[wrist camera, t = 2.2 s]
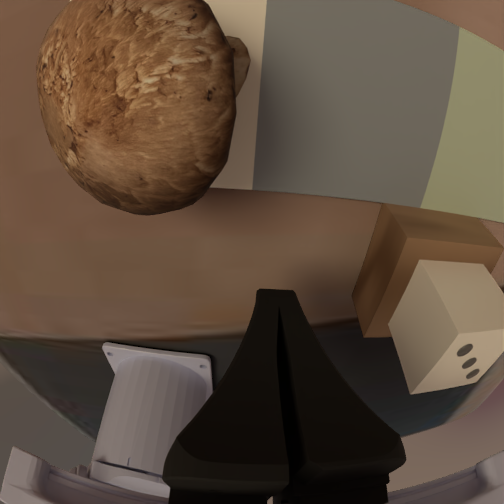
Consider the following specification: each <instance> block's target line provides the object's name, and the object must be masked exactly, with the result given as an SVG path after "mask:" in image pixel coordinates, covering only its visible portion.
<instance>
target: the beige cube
mask: <svg viewBox="0 0 504 504" xmlns="http://www.w3.org/2000/svg"><path fill="white" fill-rule="evenodd" d="M388 326H389V329H390V332H391V334H392V337H393V340H394V343H395V347H396V350H397V353H398V356H399V359H400V362H401V365H402V369H403V372H404V375H405V379H406V382H407V386H408V389H409V393H410V394H417V393H423V392H430V391H436V390H441V389H447V388H452V387H457V386H462V385H466V384H471V383H475V382H476V381H477V380H478V379H479V378H480V377H481V376H482V375H483V374H484V373H485V372H486V371H487V370H488V369H489V367H490V366H491V365H492V364H493V363H494V362H495V361H496V360H497V358H498V357H499V356H500V355H501V354H502V353H503V351H504V294H503V292H502V290H501V289H500V287H499V286H498V285H497V283H496V282H495V280H494V279H493V277H492V276H491V274H490V273H489V272H488V270H487V269H486V267H485V266H484V265H483V264H475V263H461V262H447V261H433V260H419V262H418V264H417V266H416V268H415V271H414V273H413V275H412V277H411V279H410V281H409V284H408V286H407V288H406V290H405V292H404V294H403V296H402V298H401V300H400V302H399V304H398V306H397V308H396V310H395V312H394V314H393V316H392V318H391V320H390V322H389V323H388Z"/></svg>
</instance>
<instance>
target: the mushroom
mask: <svg viewBox="0 0 504 504" xmlns="http://www.w3.org/2000/svg"><path fill="white" fill-rule="evenodd" d="M250 62H251V59H250V56H249V52H248V49H247V47H246V46H245V44H244V43H243V42H242V41H241V39H240V38H237V37H232V36H225V35H224V33H223V31H222V29H221V27H220V25H219V23H218V21H217V19H216V18H215V16H214V14H213V12H212V10H211V8H210V6H209V4H208V3H206V2H205V1H204V0H71V1H70V2H69V3H68V4H67V6H66V7H65V8H64V9H63V10H62V11H61V12H60V13H59V14H58V16H57V17H56V18H55V20H54V21H53V23H52V24H51V25H50V27H49V28H48V30H47V32H46V34H45V37H44V39H43V42H42V44H41V47H40V51H39V56H38V60H37V65H36V73H37V87H38V97H39V103H40V109H41V115H42V119H43V122H44V125H45V128H46V132H47V135H48V138H49V141H50V144H51V146H52V148H53V149H54V151H55V153H56V155H57V156H58V158H59V160H60V161H61V163H62V165H63V166H64V168H65V170H66V171H67V172H68V173H69V175H70V176H71V177H72V178H73V179H74V180H75V182H76V183H77V184H78V185H79V186H80V187H81V188H83V189H84V190H85V191H86V192H88V193H89V194H90V195H92V196H93V197H94V198H95V199H97V200H98V201H99V202H101V203H103V204H105V205H108V206H111V207H114V208H117V209H120V210H123V211H126V212H129V213H132V214H137V215H156V214H162V213H166V212H170V211H174V210H179V209H182V208H184V207H187V206H190V205H192V204H194V203H195V202H196V201H197V200H199V199H200V198H201V197H202V196H203V195H204V194H205V193H206V191H207V190H208V189H209V187H210V186H211V184H212V183H213V182H214V180H215V179H216V178H217V176H218V175H219V174H220V173H221V171H222V170H223V168H224V166H225V165H226V163H227V161H228V156H229V151H230V145H231V140H232V135H233V130H234V124H235V119H236V114H237V109H236V97H237V96H238V94H239V92H240V90H241V88H242V86H243V84H244V82H245V80H246V78H247V74H248V70H249V66H250Z"/></svg>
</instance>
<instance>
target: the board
mask: <svg viewBox="0 0 504 504" xmlns="http://www.w3.org/2000/svg"><path fill="white" fill-rule="evenodd" d="M70 1H71V0H70ZM204 1H205V2H206V3H208V4H209V6H210V8H211V10H212V12H213V14H214V16H215V18H216V19H217V21H218V23H219V25H220V27H221V29H222V31H223V33H224V35H225V36H232V37H237V38H240V39H241V41H242V42H243V43H244V44H245V46H246V47H247V49H248V52H249V56H250V59H251V62H250V66H249V70H248V74H247V78H246V80H245V82H244V84H243V86H242V88H241V90H240V92H239V94H238V96H237V97H236V109H237V114H236V119H235V124H234V130H233V135H232V140H231V145H230V151H229V156H228V161H227V163H226V165H225V166H224V168H223V170H222V171H221V173H220V174H219V175H218V176H217V178H216V179H215V180H214V182H213V183H212V184H211V186H210V188H229V189H246V190H261V191H274V192H287V193H298V194H309V195H320V196H329V197H339V198H348V199H357V200H365V201H373V202H381V203H389V204H396V205H403V206H410V207H417V208H423V209H430V210H436V211H442V212H448V213H454V214H460V215H466V216H471V217H477V218H482V219H487V220H492V221H497V222H502V223H504V51H503V50H501V49H500V48H498V47H496V46H495V45H493V44H491V43H489V42H488V41H486V40H484V39H482V38H480V37H478V36H477V35H475V34H473V33H471V32H469V31H467V30H465V29H463V28H461V27H459V26H457V25H455V24H452V23H450V22H448V21H446V20H443V19H441V18H439V17H437V16H434V15H432V14H429V13H427V12H424V11H422V10H419V9H416V8H414V7H411V6H408V5H405V4H402V3H400V2H397V1H393V0H204Z"/></svg>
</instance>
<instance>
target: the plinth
mask: <svg viewBox="0 0 504 504" xmlns="http://www.w3.org/2000/svg"><path fill="white" fill-rule="evenodd" d="M503 250H504V248H503V246H502V245H501V244H500V243H499V242H498V241H497V239H496V238H495V237H494V236H493V235H492V234H491V233H490V231H489V230H488V229H487V228H486V227H485V226H484V225H483V224H482V223H481V222H480V220H479V219H478V218H477V217H471V216H466V215H460V214H454V213H448V212H442V211H436V210H430V209H423V208H417V207H410V206H403V205H396V204H389V203H382V206H381V210H380V213H379V217H378V220H377V223H376V226H375V230H374V233H373V236H372V239H371V242H370V245H369V248H368V251H367V254H366V257H365V260H364V263H363V266H362V269H361V272H360V275H359V278H358V280H357V283H356V286H355V289H354V291H353V294H352V298H353V302H354V305H355V309H356V312H357V316H358V319H359V323H360V326H361V330H362V334H363V337H364V338H365V337H392V334H391V332H390V329H389V326H388V323H389V322H390V320H391V318H392V316H393V314H394V312H395V310H396V308H397V306H398V304H399V302H400V300H401V298H402V296H403V294H404V292H405V290H406V288H407V286H408V284H409V281H410V279H411V277H412V275H413V273H414V271H415V268H416V266H417V264H418V262H419V260H433V261H447V262H461V263H475V264H483V265H484V266H485V267H486V269H487V270H488V272H489V273H490V274H491V272H492V271H493V269H494V267H495V265H496V263H497V261H498V259H499V257H500V255H501V254H502V252H503Z"/></svg>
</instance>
